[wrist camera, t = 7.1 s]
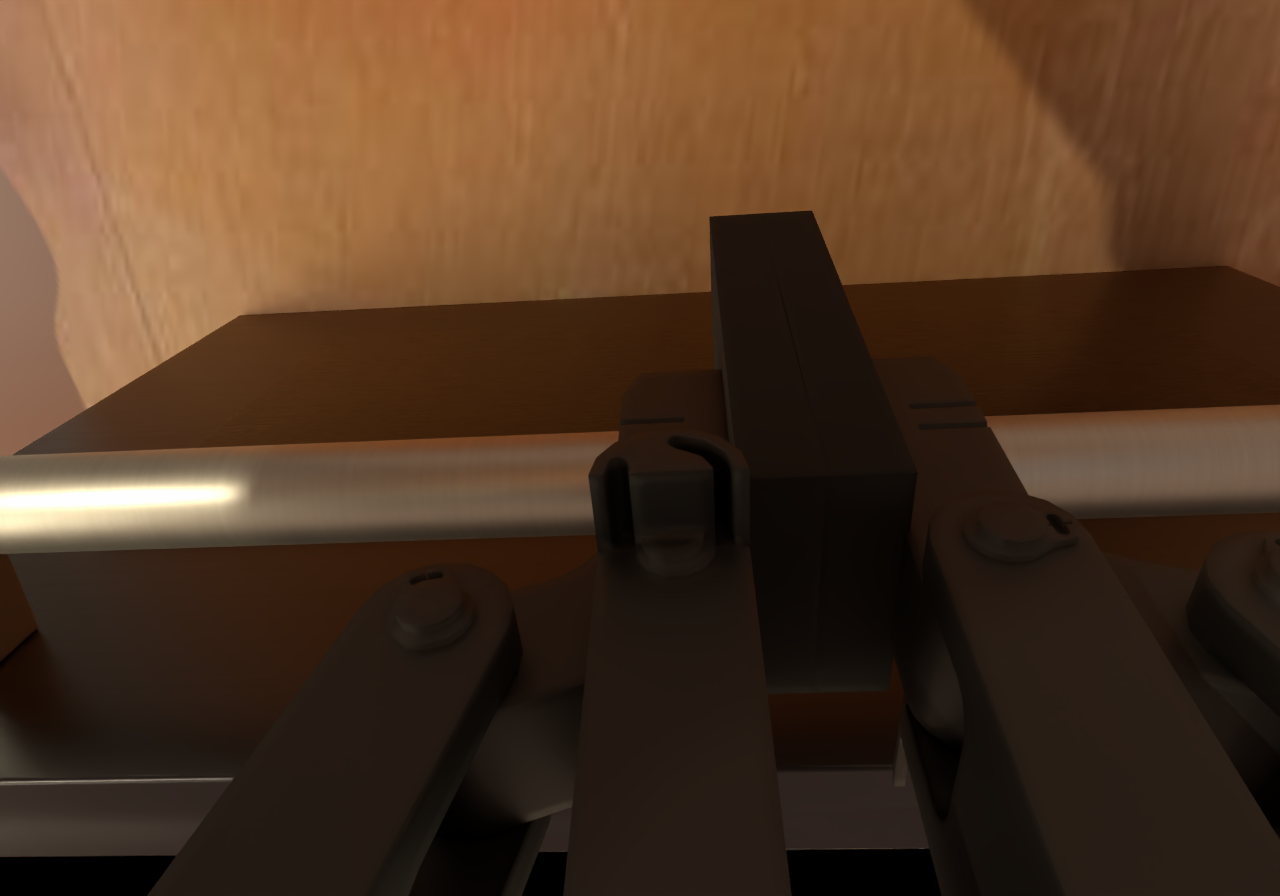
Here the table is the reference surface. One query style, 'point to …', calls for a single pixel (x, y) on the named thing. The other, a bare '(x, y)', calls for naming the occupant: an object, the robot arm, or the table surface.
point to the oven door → (529, 511)
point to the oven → (820, 887)
